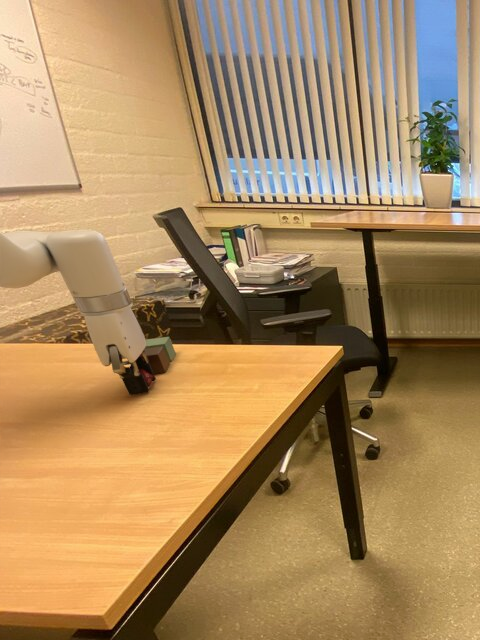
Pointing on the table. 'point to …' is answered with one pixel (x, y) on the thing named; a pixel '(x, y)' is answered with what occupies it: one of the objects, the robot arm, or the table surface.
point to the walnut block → (157, 359)
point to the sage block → (162, 342)
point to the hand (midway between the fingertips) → (143, 386)
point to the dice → (147, 377)
